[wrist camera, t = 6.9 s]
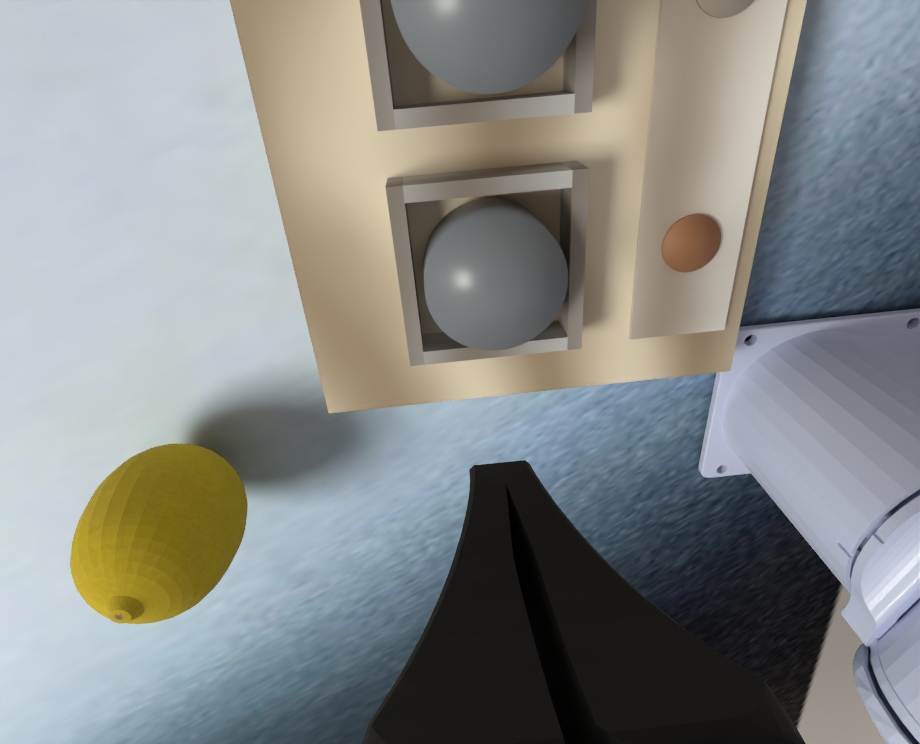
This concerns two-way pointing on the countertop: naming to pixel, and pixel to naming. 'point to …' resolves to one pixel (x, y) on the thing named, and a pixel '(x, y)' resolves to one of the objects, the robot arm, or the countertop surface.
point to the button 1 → (493, 275)
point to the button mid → (488, 39)
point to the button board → (523, 187)
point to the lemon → (159, 533)
